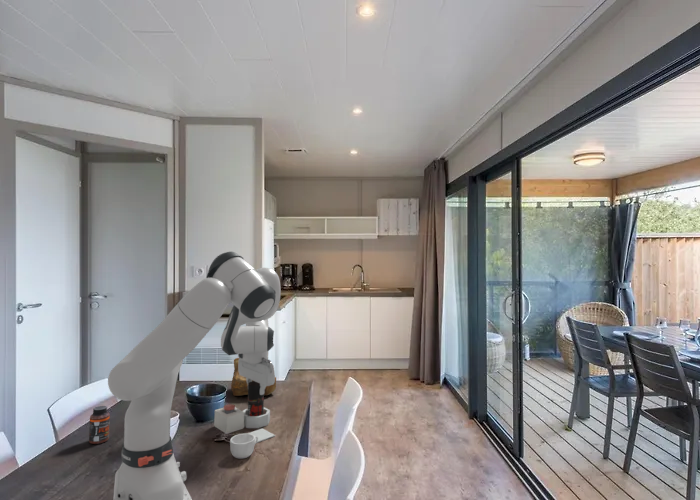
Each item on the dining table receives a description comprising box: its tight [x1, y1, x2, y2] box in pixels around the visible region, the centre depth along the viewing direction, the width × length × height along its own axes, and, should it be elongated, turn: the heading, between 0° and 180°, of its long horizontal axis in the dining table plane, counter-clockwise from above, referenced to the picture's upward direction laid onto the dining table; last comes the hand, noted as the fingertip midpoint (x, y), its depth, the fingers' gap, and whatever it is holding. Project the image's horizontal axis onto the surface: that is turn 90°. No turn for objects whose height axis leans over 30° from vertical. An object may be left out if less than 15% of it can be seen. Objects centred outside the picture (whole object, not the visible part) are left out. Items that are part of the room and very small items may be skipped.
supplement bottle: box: [88, 405, 111, 445], centre depth 142 cm, size 6×6×11 cm
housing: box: [213, 406, 271, 435], centre depth 157 cm, size 13×18×6 cm
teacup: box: [229, 432, 258, 460], centre depth 135 cm, size 10×8×5 cm
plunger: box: [223, 403, 236, 414], centre depth 155 cm, size 4×4×6 cm
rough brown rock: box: [230, 357, 277, 397], centre depth 191 cm, size 23×17×15 cm
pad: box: [248, 427, 276, 444], centre depth 148 cm, size 8×8×1 cm
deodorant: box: [247, 381, 265, 416], centre depth 159 cm, size 6×6×15 cm
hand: (255, 391), depth 159 cm, fingers closed on deodorant, 6 cm apart
